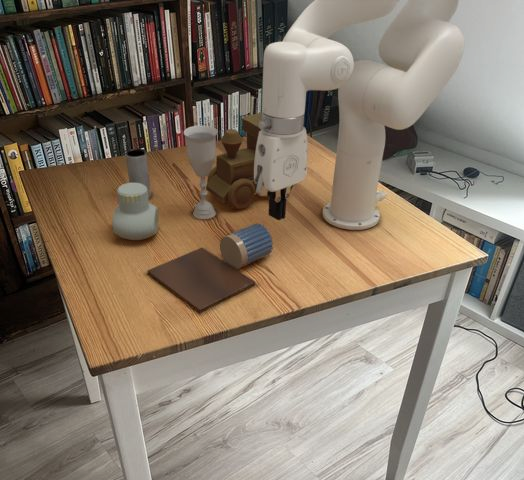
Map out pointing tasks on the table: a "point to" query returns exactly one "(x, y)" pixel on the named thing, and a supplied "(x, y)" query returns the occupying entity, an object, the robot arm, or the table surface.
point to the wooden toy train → (236, 166)
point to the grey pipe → (138, 168)
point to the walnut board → (201, 279)
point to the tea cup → (246, 245)
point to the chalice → (202, 162)
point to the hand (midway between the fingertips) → (276, 216)
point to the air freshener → (135, 213)
